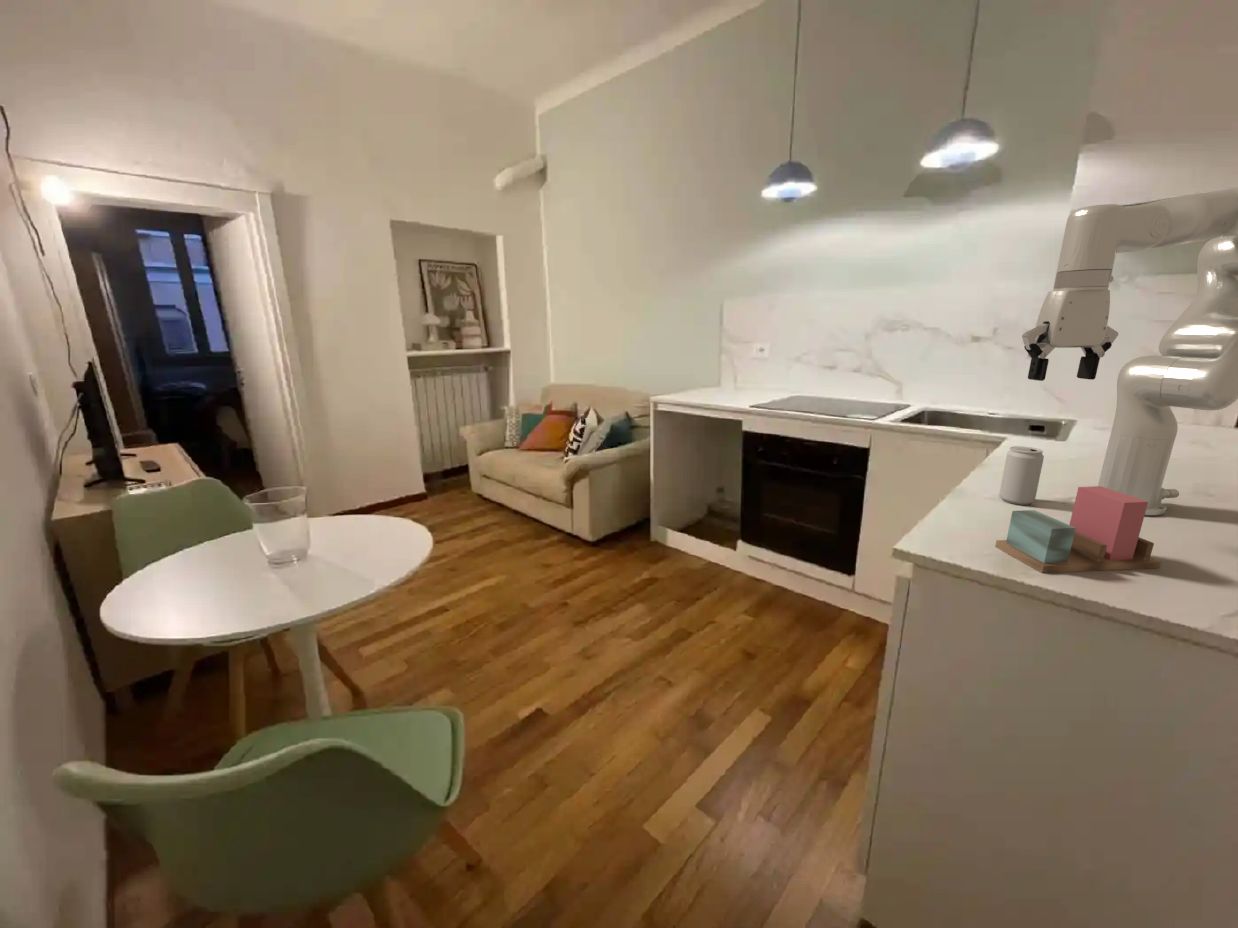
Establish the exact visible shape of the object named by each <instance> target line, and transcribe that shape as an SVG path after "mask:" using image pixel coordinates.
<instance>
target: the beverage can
mask: <svg viewBox="0 0 1238 928" xmlns="http://www.w3.org/2000/svg"><path fill="white" fill-rule="evenodd" d="M1043 452H1044V451H1043V450H1042V449H1040V448H1036V447H1032V446H1021V445H1020V446H1019V445H1017V446H1015V445H1014V446H1011V447H1009V450H1008V451H1007V453H1006V457H1005V461H1004V467H1003V468H1004V469H1003V471H1002V479H1001V484H1000V489H999V492H998V496H999V497H1000V499H1001V500H1002V501H1003V502H1004V503H1005V502H1006V503H1010V504H1013V505H1018V506H1019V505H1022V506H1026V505H1027V506H1028V505H1030V504H1032V503H1034V502H1036V496H1037V492H1038V487H1039V483H1040V478H1041V473H1042V470H1043V469H1042V467H1043V464H1044V459H1045V457H1044V456H1045V455H1044V454H1043Z"/></svg>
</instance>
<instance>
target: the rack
mask: <svg viewBox="0 0 1238 928" xmlns="http://www.w3.org/2000/svg"><path fill="white" fill-rule="evenodd" d="M1075 529H1076V528H1075V527H1073V526H1070V524H1067V523H1065V522H1063V521H1061V520H1059V519H1055V518H1054V517H1051V516H1050V515H1047V514H1044V513H1042V512H1040V511H1037V510H1035V509H1030V510H1029V509H1028V510H1012V512H1011V518H1010V523H1009V525H1008V533H1007V537H1006V539H1004V540H1003V539H1001V540H1000V539H999V540H996V541H995V548H997V549H999V550H1000V551H1002V552H1004V553H1006V554H1008V556H1009V555H1010V556H1011V557H1013V558H1014V559H1017V560H1018V561H1020V562H1022V563H1023V564H1025V565H1027V566H1029V567H1030V568H1033V569H1034V570H1036V571H1038V572H1039V573H1041V574H1045V573H1046V574H1047V573H1048V574H1049V573H1069V572H1070V573H1071V572H1073V573H1074V572H1091V571H1092V572H1093V571H1095V572H1097V571H1117V570H1119V571H1120V570H1140V569H1141V570H1142V569H1159V568H1160V566H1161V563H1162V561H1161V560H1160V559H1157V558H1154V557H1152V552H1153V548H1154V545H1155V542H1153V541H1150V540H1147V539H1145V538H1142V537H1140V536H1139V537H1138V541H1137V545H1136V548H1135V552H1134V555H1133V559H1128V560H1108V559H1105V558H1104V555H1105V551H1106V547H1107V545H1106V544H1103V543H1101V542H1099V541H1096V540H1094V539H1092V538H1090V537H1087V536H1085V535H1083V534H1080V533H1078V532H1076V531H1075Z"/></svg>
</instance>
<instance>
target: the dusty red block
mask: <svg viewBox="0 0 1238 928" xmlns="http://www.w3.org/2000/svg"><path fill="white" fill-rule="evenodd" d="M1147 505H1148V502H1147V501H1144V500H1141V499H1138V498H1135V497H1132V496H1129V495H1126V494H1123V493H1120V492H1116V491H1113V490H1110V489H1107V488H1104V487H1101V486H1098V485H1096V486H1093V485H1092V486H1078V487H1077V492H1076V497H1075V500H1074V504H1073V507H1072V512H1071V517H1070V521H1069V525H1070V526H1073V527H1075V528H1076V529H1075V531H1076V532H1078V533H1080V534H1083V535H1085V536H1087V537H1090V538H1092V539H1094V540H1096V541H1099V542H1101V543H1103V544H1106V545H1107V547H1106V551H1105V555H1104V558H1105V559H1108V560H1128V559H1133V555H1134V552H1135V548H1136V545H1137V541H1138V537H1140V534H1141V530H1142V527H1143V522H1144V519H1145V516H1146V515H1145V512H1146V508H1147Z"/></svg>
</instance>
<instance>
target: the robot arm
mask: <svg viewBox="0 0 1238 928" xmlns="http://www.w3.org/2000/svg"><path fill="white" fill-rule="evenodd" d="M1203 241H1204V242H1205V241H1207V242H1206V243H1205V244H1204V245H1203V246H1202V247H1201V249H1200V251H1199V254H1198V257H1197V263H1196V264H1197V267H1196V268H1197V269H1196V270H1197V271H1196V272H1197V273H1196V275H1197V277H1196V278H1197V287H1196V289H1197V290H1196V296H1195V297H1194V299H1193V301H1192V302H1191V303H1190V304H1189V305H1188V306H1187V307H1186V308H1185V310H1184V311H1183V312H1182V313H1181V314H1180V315H1179V317H1178V318H1177V319H1176V320H1175V321H1174V322H1173V323H1172V324H1171V326H1170V327H1169V328H1168V329H1167V331H1166V332H1165V333H1164V335H1163V336H1162V337H1161V339H1160V341H1159V345H1158V352H1159V354H1160V355H1143V356H1139V357H1135V358H1134V359H1131V360H1129V361H1128V362H1126V364H1124V365H1123V366H1122V368H1121V369H1120V370H1119V371H1118V375H1117V381H1116V394H1117V395H1116V408H1115V412H1114V419H1113V424H1112V428H1111V432H1110V436H1109V439H1108V444H1107V448H1106V451H1105V456H1104V460H1103V464H1102V468H1101V472H1100V476H1099V481H1098V483H1097V486H1101V487H1104V488H1107V489H1110V490H1113V491H1116V492H1120V493H1123V494H1126V495H1129V496H1132V497H1135V498H1138V499H1141V500H1144V501H1147V502H1148V505H1147V508H1146V512H1145V516H1161V515H1164V514H1166V511H1167V506H1166V505H1165V503H1162V500H1164V499H1175V498H1178V497H1180V496H1179V495H1180V493H1179V490H1178V489H1176V488H1164V487H1162V486H1163V483H1164V481H1165V476H1166V473H1167V469H1168V466H1169V462H1170V459H1171V455H1172V451H1173V448H1174V445H1175V441H1176V437H1177V434H1178V421H1177V418H1176V416H1175V414H1174V412H1173V410H1172V409H1171V407H1174V408H1181V409H1182V408H1183V409H1193V410H1202V411H1219V410H1223V409H1226V408H1228V407H1229V406H1231V405H1233V403H1235V402H1236V401H1237V400H1238V187H1235V188H1234V187H1233V188H1227V189H1222V190H1214V191H1208V192H1200V193H1194V194H1185V195H1180V196H1176V197H1170V198H1166V199H1161V200H1160V199H1159V200H1157V201H1152V202H1148V203H1144V204H1142V203H1141V204H1137V205H1128V206H1127V205H1125V206H1122V205H1121V204H1116V203H1114V204H1112V203H1108V204H1096V205H1089V206H1085V207H1084V206H1083V207H1080V208H1077V209H1075V210H1073V211H1072V212H1071V213H1070V214H1069V215H1068V217H1067V219H1066V223H1065V229H1064V234H1063V238H1062V244H1061V248H1060V249H1061V250H1060V253H1059V259H1058V265H1057V270H1056V273H1055V279H1054V283H1053V289H1052V291H1048V292H1047V294H1046V296H1045V298H1044V300H1043V303H1042V305H1041V307H1040V309H1039V310H1040V311H1039V314H1038V317H1037V320H1036V324H1035V327H1034V328H1032V329H1030V330H1028V331H1026V332H1024V333H1023V334H1022V335H1021V337H1022V341H1023V344H1024V347H1023V348H1024V350H1025V351H1026V353H1027V356H1028V358H1029V359H1030V365H1029V369H1028V374H1027V379H1028V380H1031V381H1032V380H1033V381H1037V382H1038V381H1039V382H1040V381H1041V382H1042V381H1045V380H1046V375H1047V370H1048V367H1049V366H1048V365H1049V362H1050V361H1049V358H1047V357H1048V356H1049V355H1050V354H1051V352H1053V351H1054V349H1055V348H1057V349H1058V348H1059V349H1060V348H1061V349H1064V348H1065V349H1066V348H1073V349H1074V348H1080V349H1081V351H1082V352H1083V354H1084V356H1081V357H1080V358H1079V363H1078V369H1077V372H1076V378H1077V379H1083V380H1092V381H1093V380H1096V377H1097V373H1098V370H1099V365H1100V364H1099V363H1100V360H1101V358H1104V356H1105V354H1106V352H1107V351H1108V350H1109V349H1111V348H1112V345H1113V343H1114V342H1115V340H1116V339H1117V338H1118V336H1119V331H1116V329H1113V328H1112V327H1111V326H1109V325H1108V322H1109V318H1110V317H1109V315H1110V308H1111V290H1110V289H1109V286H1110V283H1112V282H1113V281H1114V276H1113V269H1114V264H1115V260H1116V256H1117V254H1120V253H1122V254H1123V253H1129V252H1138V251H1144V250H1147V249H1158V248H1167V247H1175V246H1176V247H1177V246H1183V245H1187V244H1194V243H1200V242H1203Z"/></svg>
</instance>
